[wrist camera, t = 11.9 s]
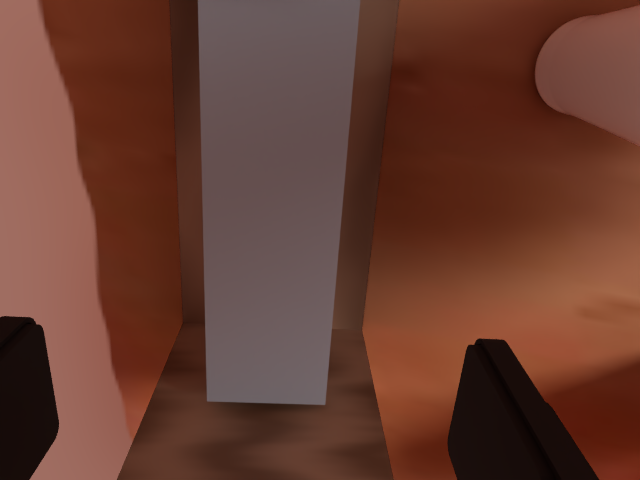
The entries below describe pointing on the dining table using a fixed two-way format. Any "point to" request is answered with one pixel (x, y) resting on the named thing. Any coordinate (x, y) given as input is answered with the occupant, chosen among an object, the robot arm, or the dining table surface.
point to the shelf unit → (350, 293)
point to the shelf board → (273, 191)
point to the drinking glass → (595, 71)
